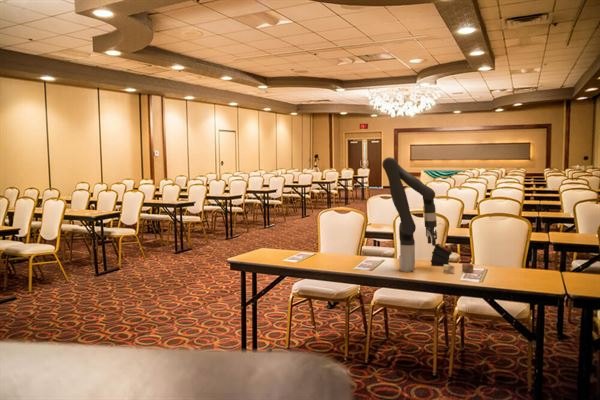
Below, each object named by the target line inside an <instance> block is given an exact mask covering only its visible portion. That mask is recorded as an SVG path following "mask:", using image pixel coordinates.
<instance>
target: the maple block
mask: <svg viewBox="0 0 600 400" xmlns="http://www.w3.org/2000/svg"><path fill="white" fill-rule="evenodd" d="M443 273H444V274H445V275H454V274H455V265H453V264H451V263H449V264H445V265H444V266H443Z"/></svg>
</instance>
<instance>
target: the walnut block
mask: <svg viewBox="0 0 600 400" xmlns="http://www.w3.org/2000/svg"><path fill="white" fill-rule="evenodd" d="M461 268H462V269H461V270H462V272H461V273H463V272H464V273H463V274H465V273H472V274H474V264H471V263H462V264H461Z"/></svg>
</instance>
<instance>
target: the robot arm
mask: <svg viewBox="0 0 600 400" xmlns="http://www.w3.org/2000/svg"><path fill="white" fill-rule="evenodd" d="M381 166H382V167H383V170H384V172H385V174H386V177H387V180H388V183H389V184H388V185H389V193H390V195H391V196H390V197H391V199H392V203H393V204H394V205H393V206H394V207H395V209H396V212H397V213H398V215H399V220H400V223H399V226H398V227H399V228H398V233H399V236H398V237H399V244H400V246H399V252H400V253H399V257H398V258H399V259H398V260H399V267H398V268H399V271H401V272H405V273H412V272H414V271H415V270H416V269H415V268H416V266H415V265H416V264H415V263H416V261H415V260H416V257H415V256H416V252H415V248H416V242H415V238H414V233H415V232H416V227H417V226H416V223H415V221H414V218H413V215H412V213H411V211H410V210H411V209H410V205H409V201H408V200H409V199H408V197H407V194H406V193H407V192H406V190H405V187H404V184H406V185H407V186H408V187H409V188H411V189H412V190H414V191H415V192H416V193H418V194H419V195H420V196H422V200H423V212H424V214H423V215H424V216H423V218H424V219H423V220H424V227H425V236H426V239H427V244H428V245H429V244H430V245H431V246H432V247H435V246H436V244H437V242H436V241H437V239H438V234H437V229H435V228H436V227H437V226H438V224H437V223H438V221H437V214H436V213H437V212H436V205H435V200H434V199H435V198H436V192H435V191H434V189H432V188H431V187H429V186H427V185H426V184H424V183H423V182H422V181H421V180H420V179H419V178H417V177H416V176H414V175H413V174H411V173H410V172H409V171H407V170H405V169H404V168H403V167H402V166H401V165H400V164H399V163H398V161H397V160H396V158H394V157H389V156H388V157H386V158H384V159H383V161H382V165H381ZM403 183H404V184H403Z"/></svg>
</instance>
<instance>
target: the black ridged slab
mask: <svg viewBox="0 0 600 400" xmlns="http://www.w3.org/2000/svg"><path fill="white" fill-rule="evenodd" d="M452 253H453V251H452V250H450V249H449V248H447V247H446V246H443V245H441V244H440V243H436V246H434V248H433V251H432V252H431V254H432V255H431V259H430V262H431V266H432V267H444V265H445V264H450V263H449V260H450V257H451V255H452Z"/></svg>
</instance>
